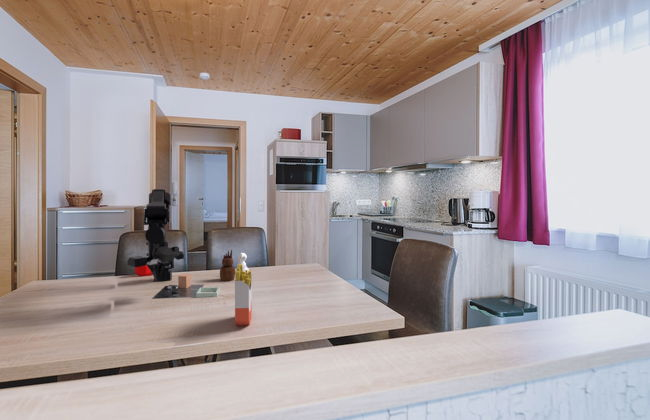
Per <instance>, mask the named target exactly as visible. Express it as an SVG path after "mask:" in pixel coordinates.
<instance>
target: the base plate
mask: <svg viewBox="0 0 650 420" xmlns="http://www.w3.org/2000/svg"><path fill="white" fill-rule="evenodd" d="M168 286H169V285H165V286H164V287H162V288H161V290H159V291H158V292H157V293H156V294H155V295H154V296H153V297H152V298H151V300H152V299H153V300H157V299H159V300H160V299H177V298H178V299H179V298H197V297H196V293H197V291H198V290H199V289H200V288H204V286H205V284H191V286H189V287H188V288H178V294H177V296H173V295H172V291H171V289H168Z"/></svg>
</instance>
